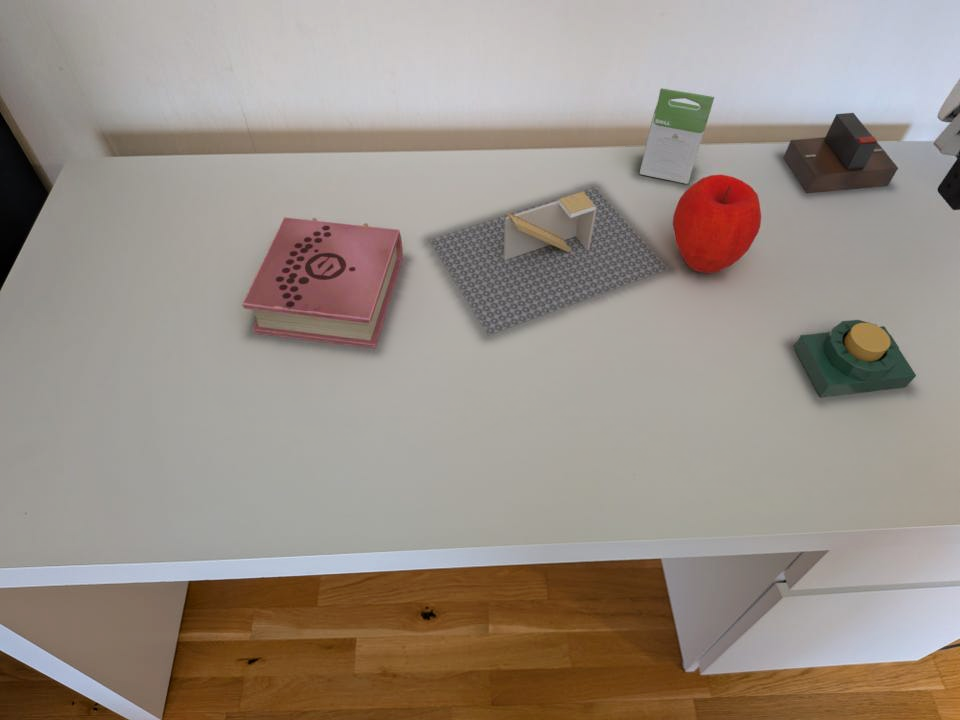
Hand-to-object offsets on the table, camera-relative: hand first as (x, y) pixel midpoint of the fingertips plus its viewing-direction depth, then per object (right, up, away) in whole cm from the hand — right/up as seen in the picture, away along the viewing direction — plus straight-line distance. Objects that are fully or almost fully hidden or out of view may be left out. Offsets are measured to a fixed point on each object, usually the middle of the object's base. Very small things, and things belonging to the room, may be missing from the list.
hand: (953, 199), depth 64 cm
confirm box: (-3, -16, +12) cm, 20 cm away
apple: (-17, -3, +22) cm, 28 cm away
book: (-62, -7, +18) cm, 65 cm away
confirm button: (-3, -14, +9) cm, 17 cm away
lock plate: (+6, +12, +33) cm, 35 cm away
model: (-36, -2, +23) cm, 43 cm away
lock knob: (+6, +14, +30) cm, 34 cm away
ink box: (-18, +11, +33) cm, 39 cm away
